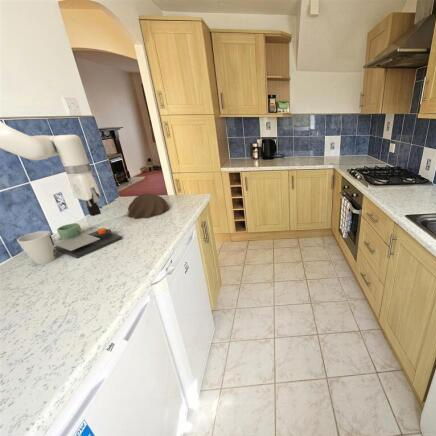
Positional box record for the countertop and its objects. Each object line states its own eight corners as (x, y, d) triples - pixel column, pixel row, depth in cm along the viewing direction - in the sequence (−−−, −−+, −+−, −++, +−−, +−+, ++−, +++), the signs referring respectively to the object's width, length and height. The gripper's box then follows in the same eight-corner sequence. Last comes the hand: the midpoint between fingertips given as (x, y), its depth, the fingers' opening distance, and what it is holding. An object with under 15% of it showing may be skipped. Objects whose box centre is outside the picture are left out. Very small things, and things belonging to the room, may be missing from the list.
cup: (64, 257, 89) (53, 233, 85) (35, 269, 83) (21, 243, 79) (56, 252, 93) (44, 228, 89) (27, 262, 87) (13, 238, 83)
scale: (56, 249, 95) (52, 243, 94) (101, 232, 108) (99, 226, 107) (77, 258, 88) (74, 251, 87) (123, 239, 102) (121, 232, 100)
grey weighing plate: (53, 244, 92) (53, 244, 92) (83, 233, 101) (83, 233, 100) (70, 251, 87) (69, 250, 87) (100, 239, 96) (99, 238, 95)
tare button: (96, 233, 101) (95, 230, 100) (104, 230, 103) (103, 227, 103) (100, 235, 100) (99, 231, 99) (108, 232, 102) (107, 228, 101)
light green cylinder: (58, 240, 102) (53, 228, 100) (78, 233, 108) (73, 222, 106) (67, 243, 99) (62, 231, 97) (87, 236, 105) (82, 224, 103)
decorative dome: (138, 206, 138) (133, 189, 134) (174, 204, 140) (170, 187, 136) (120, 219, 121) (114, 201, 117) (161, 217, 122) (156, 198, 118)
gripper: (56, 170, 91) (75, 215, 98) (77, 173, 85) (96, 220, 92) (79, 166, 97) (95, 208, 104) (100, 168, 91) (116, 213, 98)
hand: (95, 214), depth 98 cm, fingers closed
